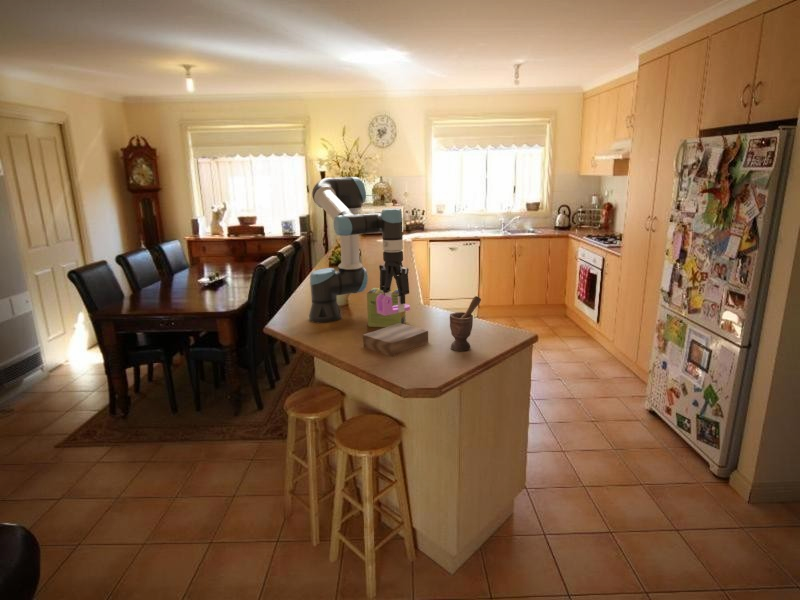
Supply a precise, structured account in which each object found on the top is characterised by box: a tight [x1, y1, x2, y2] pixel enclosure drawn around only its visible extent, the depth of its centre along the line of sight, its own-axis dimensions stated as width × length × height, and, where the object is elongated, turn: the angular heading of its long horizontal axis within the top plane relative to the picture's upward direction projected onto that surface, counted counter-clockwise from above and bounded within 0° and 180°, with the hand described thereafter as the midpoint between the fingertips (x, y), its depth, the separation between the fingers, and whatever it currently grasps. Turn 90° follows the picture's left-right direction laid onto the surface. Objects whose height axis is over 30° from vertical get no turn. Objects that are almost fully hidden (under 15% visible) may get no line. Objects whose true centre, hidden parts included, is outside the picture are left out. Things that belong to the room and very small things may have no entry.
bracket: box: [376, 294, 411, 316], centre depth 182 cm, size 13×6×7 cm, turn 124°
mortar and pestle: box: [449, 295, 482, 352], centre depth 179 cm, size 12×9×20 cm
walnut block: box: [362, 323, 429, 357], centre depth 186 cm, size 16×20×5 cm
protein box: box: [366, 287, 407, 328], centre depth 212 cm, size 10×15×16 cm
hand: (395, 310), depth 183 cm, fingers closed on bracket, 6 cm apart
